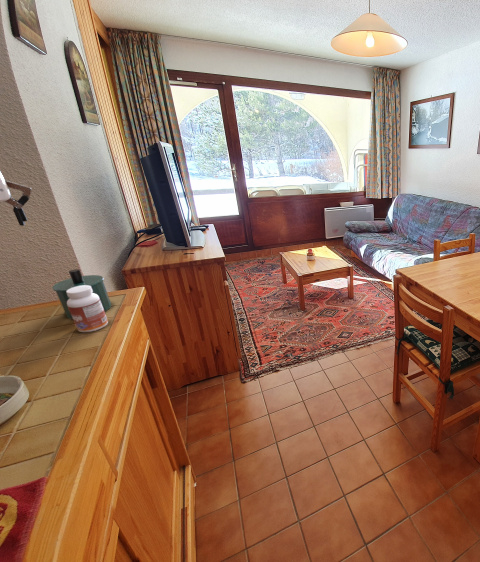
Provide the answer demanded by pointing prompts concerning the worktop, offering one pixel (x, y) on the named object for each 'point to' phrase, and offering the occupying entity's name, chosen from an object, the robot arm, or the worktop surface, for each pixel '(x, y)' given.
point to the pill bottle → (86, 309)
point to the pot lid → (77, 281)
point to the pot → (97, 289)
